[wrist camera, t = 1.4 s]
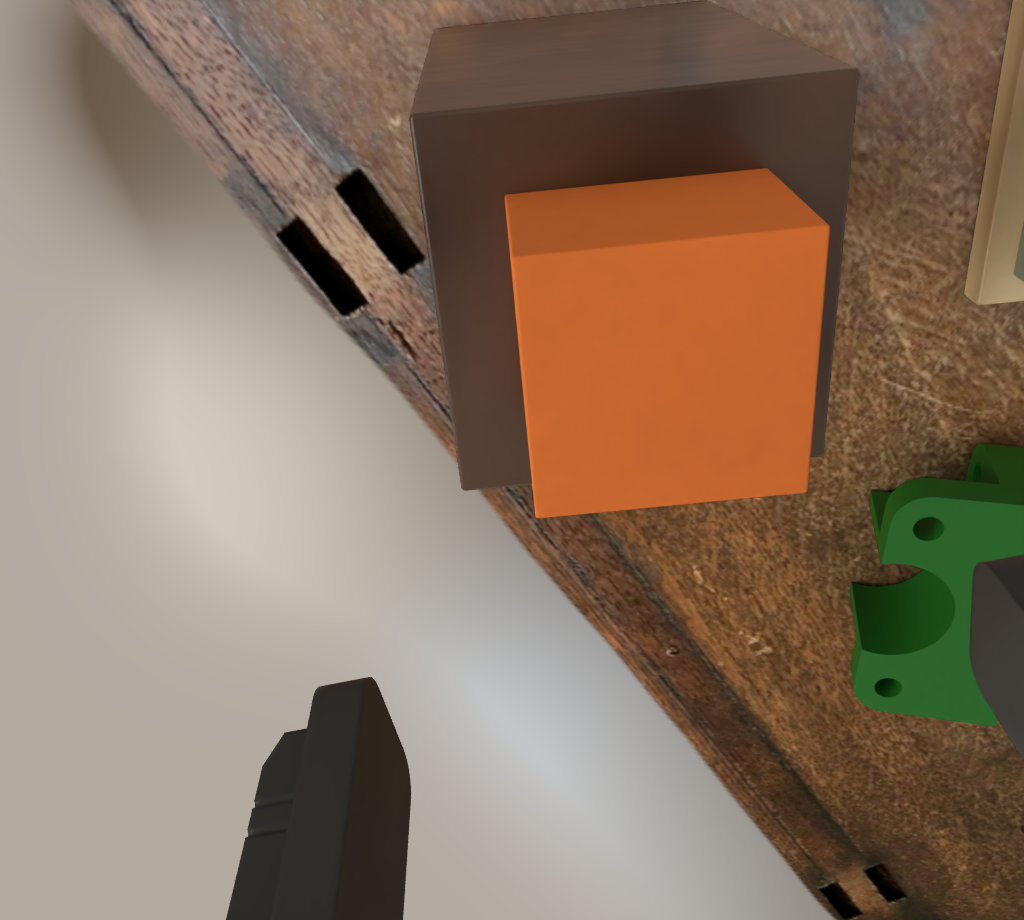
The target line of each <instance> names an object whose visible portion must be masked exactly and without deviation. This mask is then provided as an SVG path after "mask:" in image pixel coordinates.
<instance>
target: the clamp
mask: <svg viewBox="0 0 1024 920" xmlns="http://www.w3.org/2000/svg"><path fill="white" fill-rule="evenodd" d="M869 506H870V511H871V516H872V521H873V526H874V531H875V536H876V541H877V546H878V551H879V556H880V561H881V565H883V564H906V565H912V566H916V567H919V568H922V569H923V570H922V571H921V572H920V573H919V574H917V575H916V576H914V577H913V578H911V579H909V580H907V581H904V582H902V583H899V584H895V585H891V586H883V587H872V586H864V585H860V584H856V583H853V582H852V583H851V587H850V597H851V604H852V611H853V618H854V625H855V632H856V641H855V646H854V650H853V655H852V659H851V672H852V680H853V688H854V693H855V695H856V697H857V698H858V700H859V701H860V702H861V703H862V704H864V705H865V706H867V707H869V708H871V709H874V710H878V711H883V712H891V713H898V714H906V715H913V716H920V717H928V718H935V719H943V720H950V721H958V722H965V723H973V724H980V725H987V726H995V727H996V724H997V721H998V719H997V718H996V716H995V714H994V713H993V711H992V710H991V708H990V707H989V705H988V703H987V702H986V700H985V699H984V697H983V695H982V693H981V691H980V689H979V687H978V685H977V682H976V679H975V677H974V673H973V670H972V666H971V661H970V653H969V642H970V621H971V600H972V579H973V571H974V568H975V566H976V565H977V564H978V563H980V562H986V561H991V560H996V559H1001V558H1007V557H1012V556H1017V555H1022V554H1024V447H1020V446H1007V445H995V444H983V443H979V444H978V445H977V446H976V447H975V449H974V451H973V453H972V456H971V459H970V462H969V466H968V470H967V474H966V477H965V481H959V480H948V479H937V478H918V479H913V480H910V481H907V482H905V483H903V484H902V485H900V486H898V487H897V488H896V489H895V490H894V491H893V492H882V491H871V492H870V497H869Z"/></svg>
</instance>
